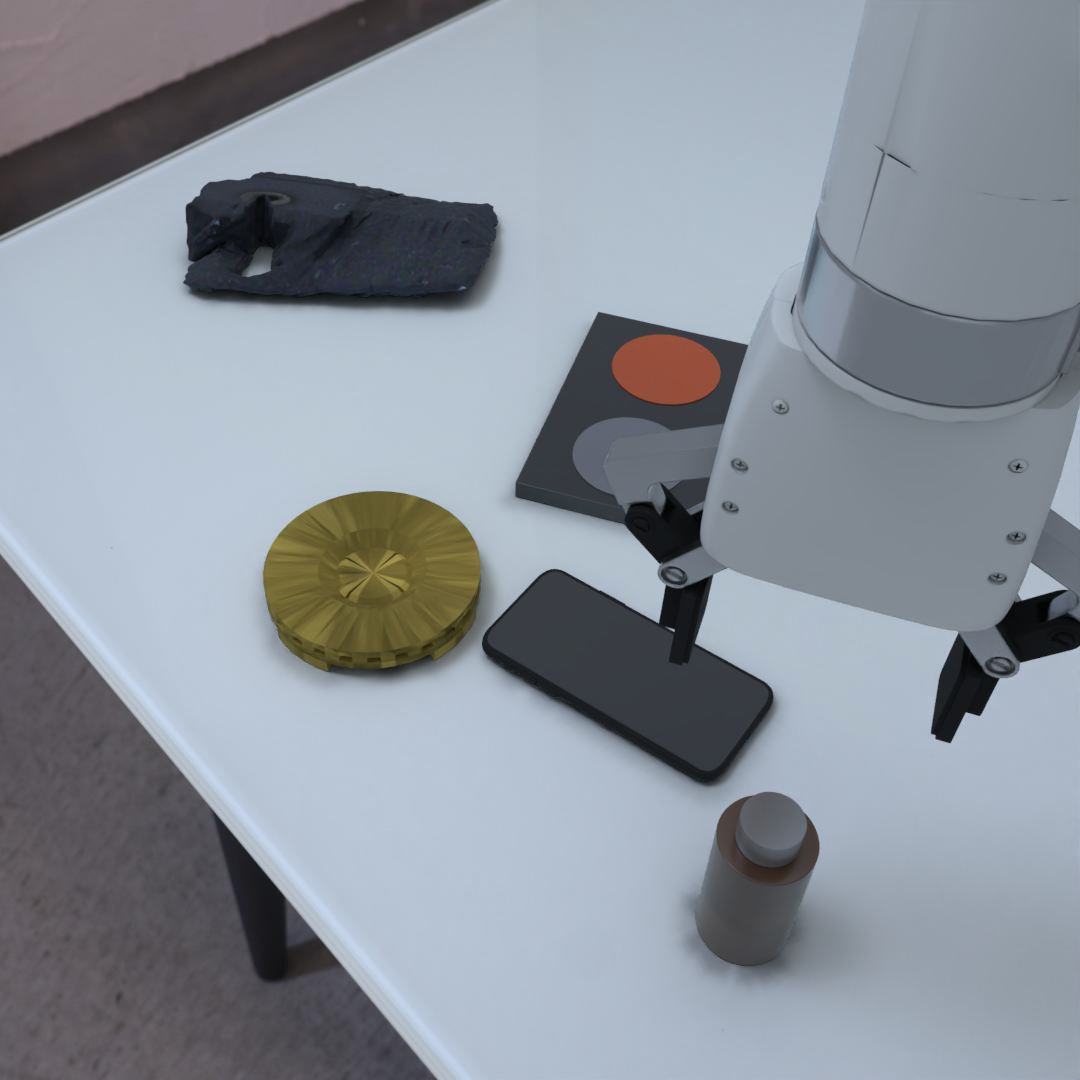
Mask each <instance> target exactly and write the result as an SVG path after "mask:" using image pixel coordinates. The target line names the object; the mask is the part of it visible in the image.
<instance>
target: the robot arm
mask: <svg viewBox="0 0 1080 1080" xmlns="http://www.w3.org/2000/svg"><path fill="white" fill-rule="evenodd" d="M851 59H852V60H851V63H850V68H849V72H848V76H847V81H846V85H845V88H844V93H843V97H842V102H841V106H840V110H839V115H838V118H837V123H836V126H835V132H834V136H833V140H832V145H831V149H830V152H829V156H828V161H827V163H826V164H827V165H826V168H825V174H824V178H823V180H822V181H823V182H822V185H821V191H820V195H819V201H818V206H817V208H816V212H815V215H814V220H813V224H812V228H811V231H810V236H809V240H808V244H807V249H806V252H805V253H806V254H805V258H804V260H803V261H802V262H799V263H797V264H794V265H792V266H790V267H788V268H787V269H786V270H783V272H782V273H781V274H780V276H779V277H778V279H777V280H776V282H775V284H774V286H773V288H772V290H771V291H770V293H769V295H768V298H767V299H766V300H765V304H764V306H763V308H762V310H761V312H760V315H759V317H758V320H757V322H756V324H755V328H754V329H753V332H752V335H751V336H750V340H749V343H748V344H747V345H748V348H747V351H746V354H745V357H744V360H743V363H742V366H741V369H740V372H739V376H738V379H737V383H736V386H735V389H734V393H733V396H732V400H731V403H730V407H729V410H728V413H727V417H726V420H725V424H718V425H710V426H703V427H695V428H688V429H680V430H673V431H665V432H658V433H650V434H643V435H635V436H627V437H621V438H618V439H616V440H615V441H614V442H613V444H612V447H611V449H610V451H609V453H608V456H607V458H606V460H605V463H604V465H603V472H604V475H605V477H606V479H607V481H608V483H609V485H610V487H611V489H612V491H613V493H614V495H615V497H616V500H617V502H618V504H619V505H622V507H623V509H624V511H625V513H626V516H625V519H624V522H625V524H624V526H625V527H626V529H627V530H628V531H629V532H630V533H631V534H632V536H634V538H635V539H636V540H637V541H638V543H640V544H641V545H642V546H643V548H645V550H646V551H647V552H648V553H649V554H650V555H651V556H652V558H653V559H654V560H655V561H656V562H657V564H658V565H659V566H658V568H657V577H658V580H660V582H661V583H663V584H664V585H665V587H664V591H663V592H664V593H663V598H662V603H661V609H660V614H659V619H658V623H659V625H660V626H664V627H666V628H668V629H670V630H674V636H673V641H672V646H671V651H670V656H669V662H670V663H673V664H677V665H680V666H682V664H683V663H687V664H688V663H689V660H690V657H691V654H692V651H693V648H694V645H695V644H696V642H697V638H698V635H699V632H700V629H701V626H702V622H703V620H704V616H705V613H706V609H707V606H708V601H709V597H710V592H711V589H712V583H713V579H714V575H715V574H716V575H717V574H718V573H720V572H722V571H724V570H727V569H730V570H731V571H733V572H736V573H739V574H741V575H743V576H746V577H749V578H753V579H755V580H758V581H761V582H766V583H770V584H772V585H776V586H780V587H782V588H787V589H790V590H793V591H796V592H800V593H804V594H807V595H811V596H815V597H817V598H818V597H819V598H822V599H826V600H829V601H833V602H836V603H841V604H843V605H847V606H851V607H855V608H859V609H862V610H866V611H870V612H874V613H877V614H881V615H885V616H889V617H891V618H896V619H899V620H904V621H907V622H912V623H916V624H920V625H924V626H928V627H931V628H936V629H941V630H947V631H952V632H953V631H955V632H957V635H956V637H955V639H954V642H953V644H952V646H951V648H950V650H949V653H948V655H947V657H946V660H945V662H944V663H943V666H942V667H941V671H940V673H939V677H938V682H937V689H936V696H935V702H934V708H933V715H932V722H931V728H930V735H933V736H935V740H937V741H940V742H943V743H947V744H952V742H953V740H954V737H955V736H956V733H957V731H958V729H959V728H960V725H961V724H962V721H963V719H964V717H965V715H966V713H967V714H970V715H972V716H977V717H981V716H982V714H983V712H984V710H985V708H986V706H987V704H988V702H989V700H990V699H991V697H992V694H993V693H994V691H995V689H996V687H997V685H998V682H999V681H1000V679H1009V678H1013V677H1015V676H1017V675H1018V673H1019V671H1020V667H1021V664H1022V663H1026V662H1030V661H1034V660H1037V659H1042V658H1045V657H1046V658H1047V657H1050V656H1054V655H1057V654H1062V653H1065V652H1070V651H1074V650H1076V649H1078V648H1079V647H1080V529H1079V528H1078V527H1077V526H1075V525H1074V524H1072V522H1070V521H1069V520H1067V519H1066V518H1064V517H1063V516H1062V515H1060V514H1059V513H1058V512H1056V511H1055V510H1053V509H1052V508H1051V507H1052V504H1053V501H1054V499H1055V495H1056V492H1057V490H1058V487H1059V483H1060V482H1061V478H1062V474H1063V471H1064V466H1065V462H1066V458H1067V456H1068V451H1069V449H1070V445H1071V442H1072V439H1073V435H1074V431H1075V427H1076V425H1077V418H1078V414H1079V411H1080V0H865V4H864V8H863V12H862V17H861V21H860V24H859V30H858V34H857V38H856V42H855V47H854V51H853V54H852V58H851ZM702 478H710V481H709V485H708V489H707V494H706V499H705V501H703V502H701V503H699V504H697V505H695V506H693V507H691V508H689V509H687V510H686V509H685V508H684V507H683V506H682V505H681V503H680V502H679V501H678V500H677V499H676V498H675V497H674V495H673V494H672V493H671V492H670V491H669V490H668V489H667V487H665V486H664V485H663V484H662V483H666V482H675V481H684V480H693V479H702ZM1031 564H1033V565H1034V566H1035V567H1037V568H1038V569H1040V570H1041V571H1042V572H1043V573H1045V574H1046V575H1048V576H1049V577H1051V578H1052V579H1053V580H1054V581H1056V582H1057V583H1058V584H1060V585H1061V586H1063V587H1064V588H1065V589H1058V590H1054V591H1051V592H1046V593H1043V594H1039V595H1036V596H1033V597H1030V598H1026V599H1022V598H1021V596H1020V594H1019V592H1020V591H1021V588H1022V585H1023V584H1024V581H1025V578H1026V576H1027V573H1028V570H1029V567H1030V565H1031Z"/></svg>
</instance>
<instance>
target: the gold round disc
mask: <svg viewBox="0 0 1080 1080" xmlns="http://www.w3.org/2000/svg"><path fill="white" fill-rule="evenodd" d="M481 563H482V562H481V555H480V552H479V548H478V545H477V542H476V540H475V538H474V537H473V535H472V533H471V532H470V531H469V529H468V528H467V526H466V525H465V524H464V523H463V522H462V521H461V520H460V519H459V517H457V516H455V514H453V513H451V512H450V511H449V510H447V509H446V508H444V507H443V506H441V505H440V504H438V503H436V502H433V501H431V500H428V499H427V498H423V497H420V496H417V495H413V494H409V493H406V492H405V493H404V492H396V491H389V490H388V491H387V490H371V491H370V490H369V491H368V490H367V491H359V492H352V493H348V494H343V495H339V496H336V497H333V498H330V499H326V500H324V501H322V502H320V503H316V504H315V505H314V506H311V507H309V508H308V509H306V510H304V511H303V512H301V513H300V514H299V515H297V516H296V517H294V518H293V519H292V520H291V521H290V522H288V523H287V525H285V527H283V529H282V530H281V531H280V532H279V533H278V534H277V536H276V537H275V539H274V540H273V541H272V543H271V546H270V547H269V549H268V551H267V553H266V557H265V560H264V565H263V570H262V571H263V572H262V585H263V588H264V595H265V599H266V605H267V610H268V613H269V615H270V618H271V620H272V623H274V626H275V627H276V629H277V632H278V633H277V634H278V638H279V639H280V641H281V642H282V643H283V644H284V646H285V647H286V648H287V649H288V650H289V651H291V653H293V654H294V655H295V656H297V657H298V658H299V659H300V660H302V661H304V662H305V663H307V664H309V665H311V666H312V667H314V668H317V669H320V670H323V671H325V672H329V671H330V669H331V667H332V665H333V666H337V667H342V668H348V669H361V670H362V669H363V670H372V669H387V668H392V667H399V666H402V665H406V664H409V663H412V662H415V661H418V660H420V659H423V658H425V657H427V656H431V658H432V659H433V660H434V661H437V660H438V659H440V658H442V657H443V656H444V655H446V654H447V653H448V652H450V651H451V650H452V649H454V647H456V646H457V645H458V644H459V642H461V641H462V640H463V638H464V637H465V636H466V635H467V633H468V632H469V630H470V629H471V627H472V626H473V624H474V622H475V620H476V614H477V613H476V611H477V610H476V609H477V605H478V604H479V600H480V595H481V588H482V583H481V581H482V571H481V567H482V566H481Z"/></svg>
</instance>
